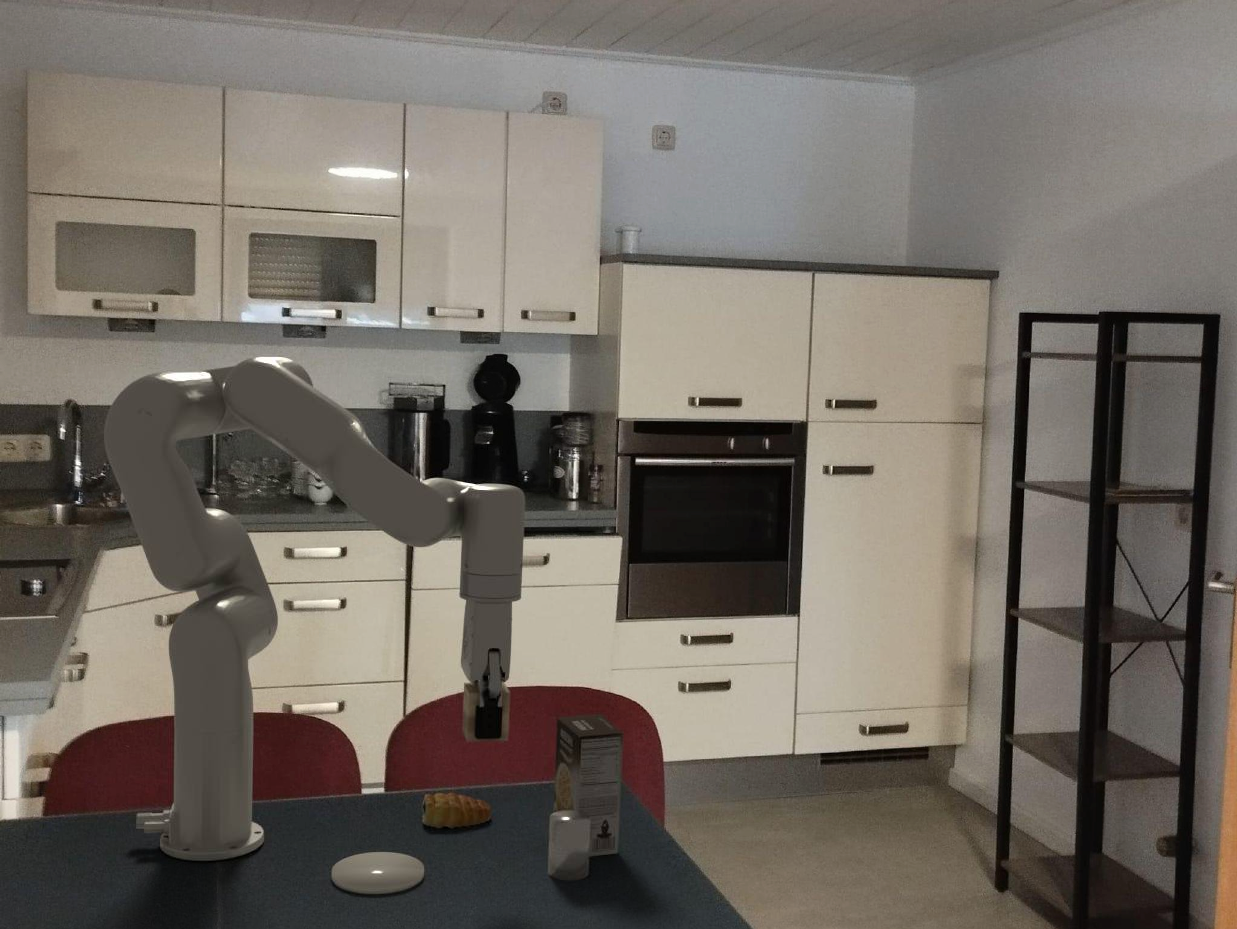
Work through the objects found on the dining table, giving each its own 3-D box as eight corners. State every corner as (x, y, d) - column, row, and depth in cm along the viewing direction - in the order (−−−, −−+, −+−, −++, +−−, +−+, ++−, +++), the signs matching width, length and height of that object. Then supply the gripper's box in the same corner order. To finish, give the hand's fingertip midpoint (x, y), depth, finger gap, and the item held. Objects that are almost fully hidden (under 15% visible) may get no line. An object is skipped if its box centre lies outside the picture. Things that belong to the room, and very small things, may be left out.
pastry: (486, 811, 186) (487, 784, 186) (494, 829, 180) (495, 801, 179) (419, 814, 184) (419, 787, 183) (423, 832, 177) (424, 804, 177)
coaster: (332, 896, 155) (332, 889, 155) (330, 860, 166) (330, 854, 166) (427, 891, 158) (428, 884, 158) (420, 856, 168) (420, 850, 168)
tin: (551, 881, 162) (553, 825, 161) (544, 865, 167) (546, 811, 166) (592, 879, 163) (594, 823, 163) (583, 863, 168) (585, 809, 167)
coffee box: (550, 834, 178) (554, 715, 176) (595, 829, 180) (600, 712, 179) (573, 859, 169) (578, 735, 168) (620, 854, 172) (625, 731, 170)
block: (467, 741, 162) (469, 693, 161) (462, 729, 167) (464, 682, 166) (508, 740, 163) (510, 692, 163) (501, 729, 168) (504, 682, 168)
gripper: (452, 573, 171) (446, 712, 172) (468, 599, 154) (462, 753, 156) (510, 573, 173) (504, 711, 174) (533, 599, 156) (526, 751, 158)
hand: (484, 729), depth 165 cm, fingers closed on block, 5 cm apart
